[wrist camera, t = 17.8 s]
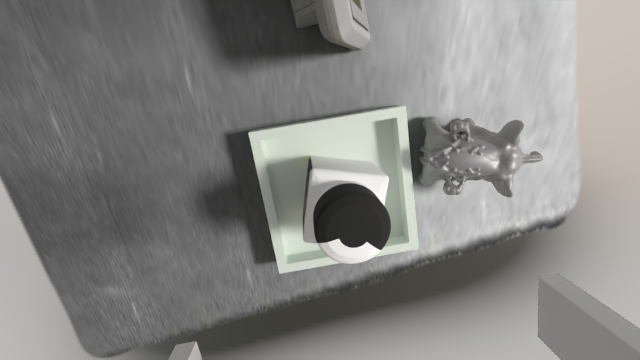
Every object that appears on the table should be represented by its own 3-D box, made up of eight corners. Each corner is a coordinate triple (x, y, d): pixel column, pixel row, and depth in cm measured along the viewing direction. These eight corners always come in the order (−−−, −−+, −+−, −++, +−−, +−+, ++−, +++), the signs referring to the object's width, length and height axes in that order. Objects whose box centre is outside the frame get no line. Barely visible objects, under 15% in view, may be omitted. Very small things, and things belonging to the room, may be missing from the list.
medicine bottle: (308, 154, 34) (312, 182, 22) (372, 161, 35) (408, 191, 23) (302, 216, 36) (302, 271, 24) (363, 221, 36) (392, 278, 25)
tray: (252, 129, 34) (248, 132, 31) (397, 105, 34) (405, 105, 31) (281, 260, 38) (279, 273, 35) (409, 237, 38) (418, 249, 35)
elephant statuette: (401, 123, 35) (423, 132, 28) (507, 88, 34) (559, 87, 27) (421, 197, 38) (446, 223, 30) (520, 165, 37) (571, 184, 29)
